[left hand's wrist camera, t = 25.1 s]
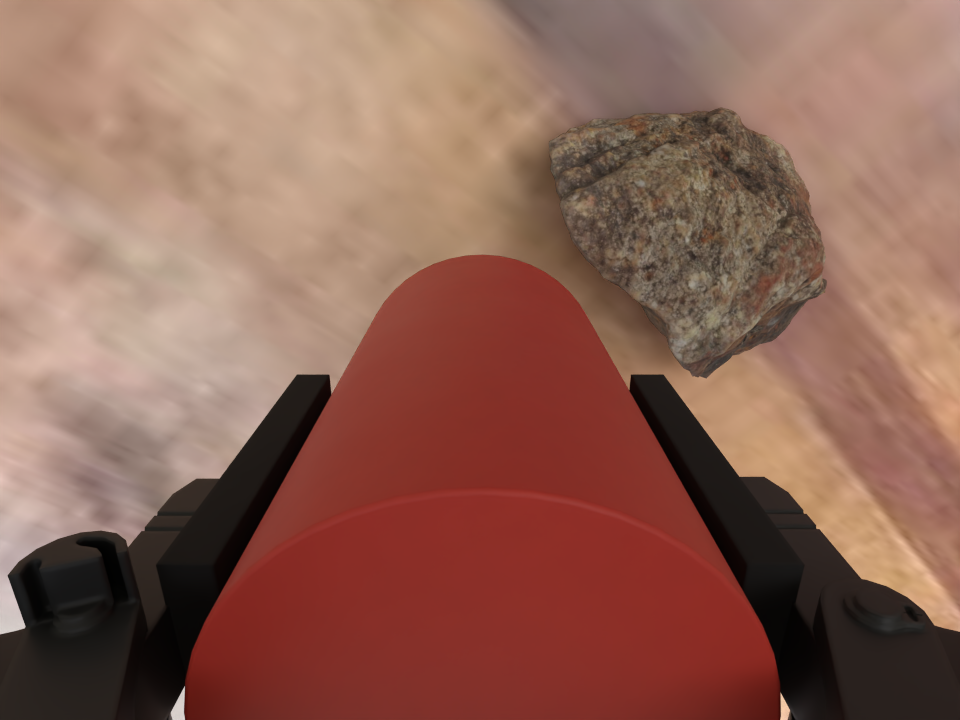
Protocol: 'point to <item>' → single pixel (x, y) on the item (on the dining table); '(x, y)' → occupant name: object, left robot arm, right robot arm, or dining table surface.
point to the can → (482, 537)
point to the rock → (693, 226)
